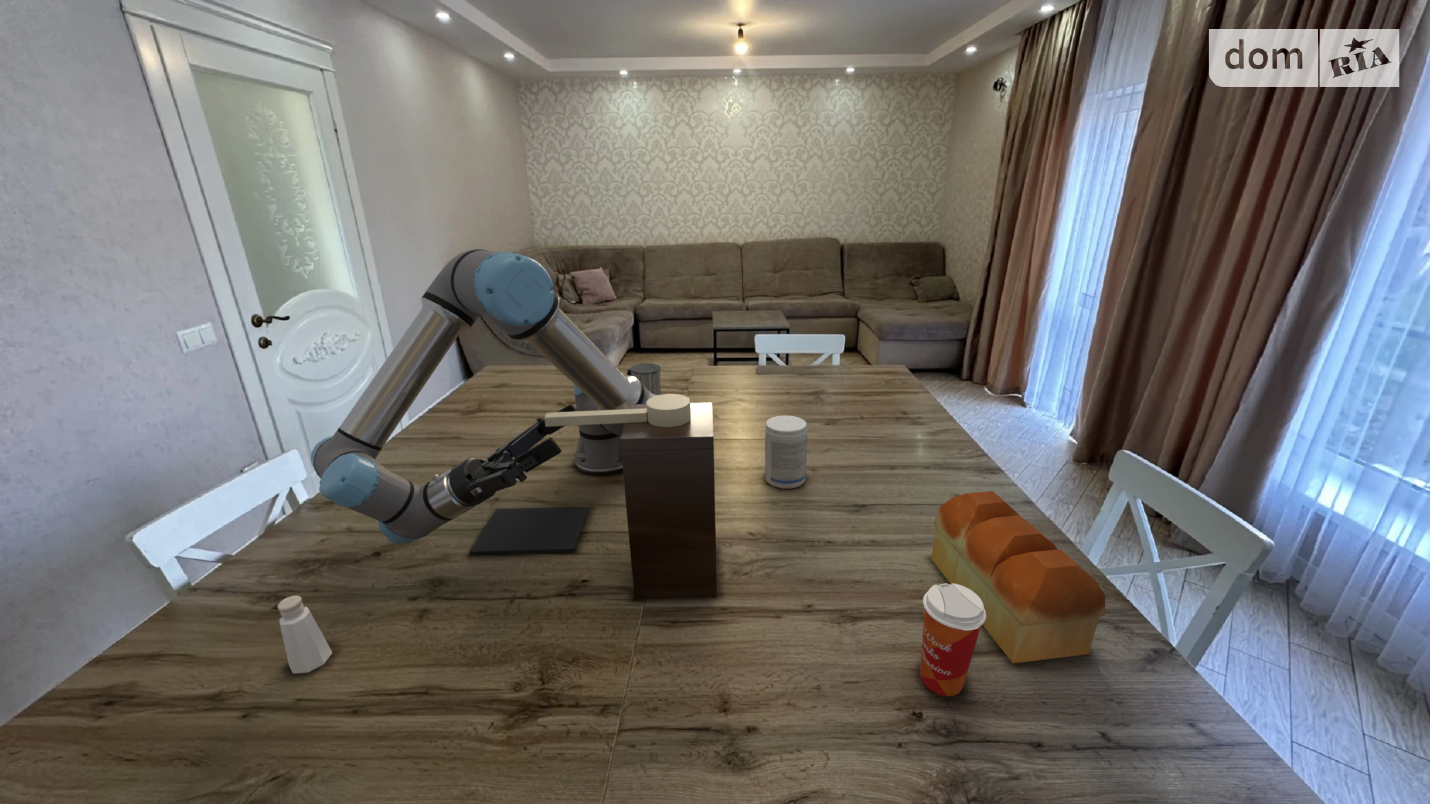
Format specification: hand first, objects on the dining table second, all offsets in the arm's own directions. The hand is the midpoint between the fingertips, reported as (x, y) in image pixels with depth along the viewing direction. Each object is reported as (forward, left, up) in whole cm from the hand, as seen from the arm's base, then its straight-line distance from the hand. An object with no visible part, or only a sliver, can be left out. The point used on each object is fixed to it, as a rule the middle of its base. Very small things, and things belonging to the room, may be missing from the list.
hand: (566, 426), depth 89 cm
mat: (-14, -13, -29) cm, 35 cm away
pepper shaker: (+18, -37, -29) cm, 51 cm away
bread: (+10, +71, -29) cm, 77 cm away
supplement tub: (-32, +41, -29) cm, 60 cm away
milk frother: (-74, +1, -29) cm, 80 cm away
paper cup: (+25, +55, -29) cm, 67 cm away
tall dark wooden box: (0, +17, -29) cm, 34 cm away
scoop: (0, +9, +1) cm, 9 cm away
